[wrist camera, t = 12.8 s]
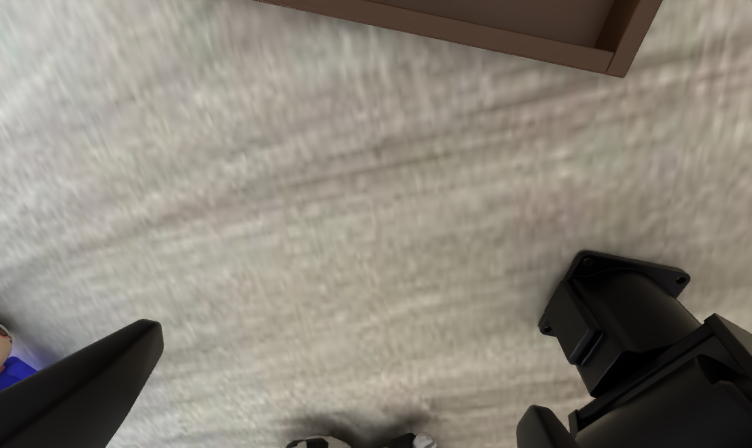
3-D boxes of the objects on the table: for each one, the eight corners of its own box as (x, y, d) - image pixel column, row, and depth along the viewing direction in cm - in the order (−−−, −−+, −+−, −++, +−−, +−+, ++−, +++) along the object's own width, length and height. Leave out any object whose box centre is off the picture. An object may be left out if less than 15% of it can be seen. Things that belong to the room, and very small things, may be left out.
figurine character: (134, 400, 35) (-3, 296, 27) (76, 493, 28) (-124, 394, 20) (82, 408, 36) (-61, 313, 28) (17, 498, 30) (-191, 407, 22)
